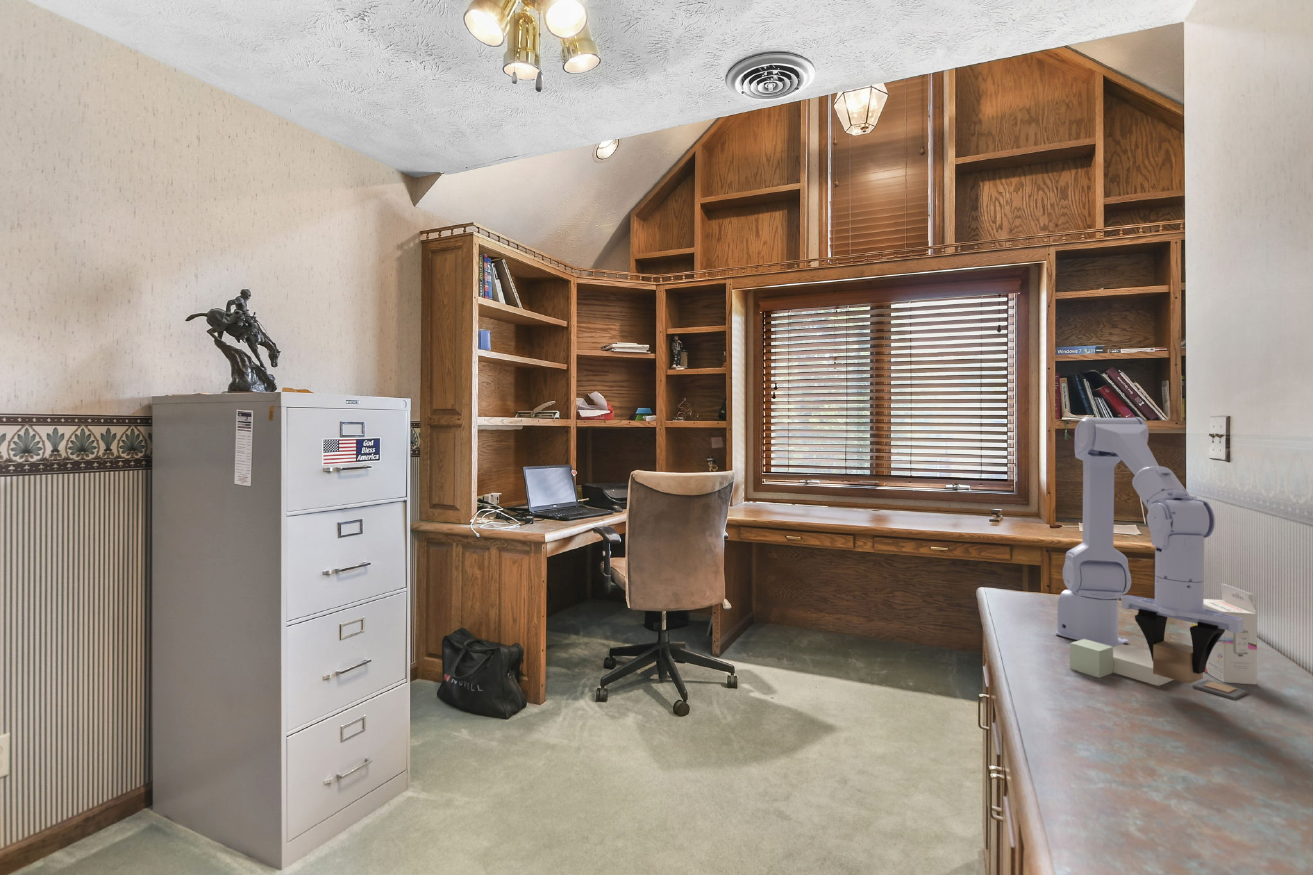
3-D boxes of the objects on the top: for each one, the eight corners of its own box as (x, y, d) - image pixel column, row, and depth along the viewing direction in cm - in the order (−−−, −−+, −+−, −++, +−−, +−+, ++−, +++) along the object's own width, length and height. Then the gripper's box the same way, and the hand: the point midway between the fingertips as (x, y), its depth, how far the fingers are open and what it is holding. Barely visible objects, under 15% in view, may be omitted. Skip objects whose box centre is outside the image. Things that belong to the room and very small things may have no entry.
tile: (1192, 687, 97) (1192, 683, 97) (1206, 681, 100) (1206, 678, 100) (1234, 699, 93) (1234, 695, 93) (1247, 693, 95) (1247, 689, 95)
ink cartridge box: (1188, 663, 108) (1189, 580, 108) (1221, 666, 107) (1222, 582, 107) (1222, 683, 99) (1223, 592, 99) (1258, 685, 98) (1259, 594, 98)
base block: (1095, 669, 106) (1096, 652, 106) (1122, 660, 110) (1122, 644, 110) (1158, 688, 98) (1158, 669, 98) (1183, 678, 102) (1184, 660, 102)
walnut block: (1153, 673, 95) (1153, 644, 95) (1166, 668, 97) (1167, 639, 97) (1189, 684, 91) (1189, 653, 91) (1202, 678, 93) (1203, 648, 93)
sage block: (1069, 669, 105) (1070, 642, 105) (1083, 664, 107) (1084, 638, 107) (1099, 678, 101) (1099, 651, 101) (1113, 673, 103) (1113, 646, 103)
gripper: (1111, 571, 98) (1110, 655, 98) (1229, 592, 85) (1228, 688, 85) (1133, 566, 101) (1132, 648, 102) (1250, 586, 89) (1248, 679, 89)
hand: (1177, 666), depth 94 cm, fingers closed on walnut block, 4 cm apart
